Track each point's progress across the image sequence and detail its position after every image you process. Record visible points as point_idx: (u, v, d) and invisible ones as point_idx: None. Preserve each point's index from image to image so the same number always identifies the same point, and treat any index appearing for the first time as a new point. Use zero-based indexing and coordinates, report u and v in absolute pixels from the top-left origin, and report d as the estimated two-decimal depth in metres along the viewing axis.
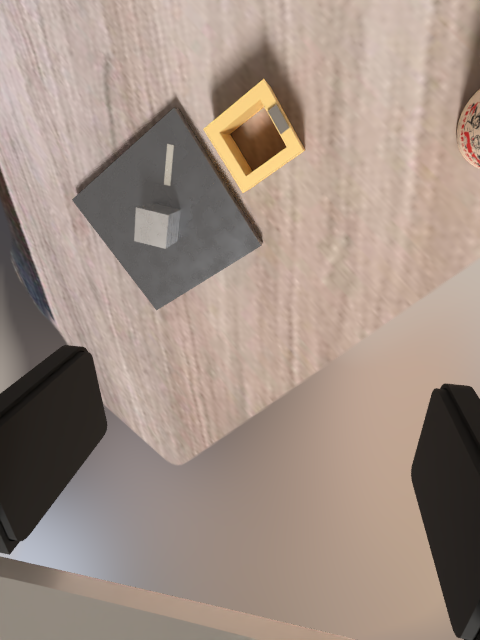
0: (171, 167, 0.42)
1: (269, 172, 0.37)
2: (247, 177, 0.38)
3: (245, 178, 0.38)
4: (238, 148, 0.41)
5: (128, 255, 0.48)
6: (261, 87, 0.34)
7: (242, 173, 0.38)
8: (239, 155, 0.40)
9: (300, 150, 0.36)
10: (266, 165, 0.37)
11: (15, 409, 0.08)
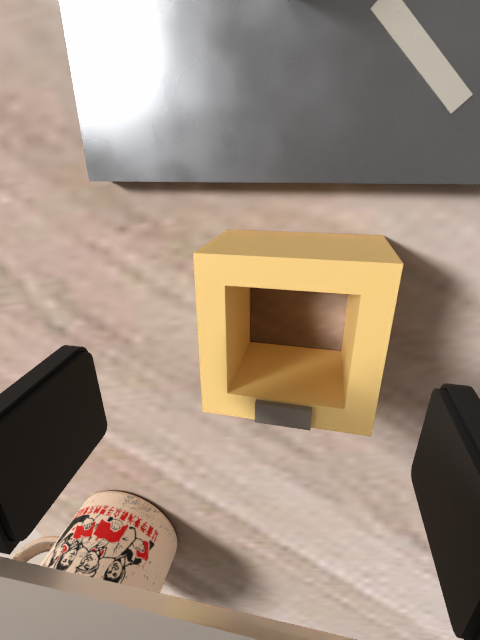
0: (409, 57, 0.12)
1: (201, 336, 0.15)
2: (220, 287, 0.14)
3: (221, 281, 0.14)
4: None
5: None
6: (361, 424, 0.15)
7: (236, 282, 0.14)
8: None
9: (205, 407, 0.16)
10: (219, 340, 0.15)
11: (15, 409, 0.08)
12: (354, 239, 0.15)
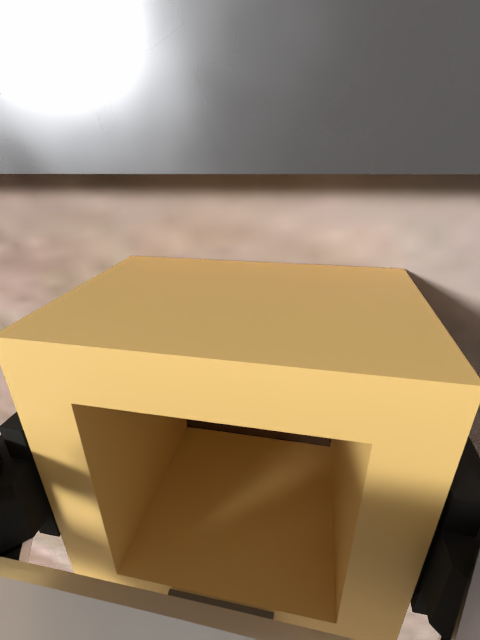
0: None
1: (49, 486, 0.07)
2: (63, 406, 0.06)
3: (61, 396, 0.06)
4: None
5: None
6: None
7: (93, 399, 0.06)
8: None
9: None
10: (83, 494, 0.07)
11: None
12: (352, 282, 0.08)
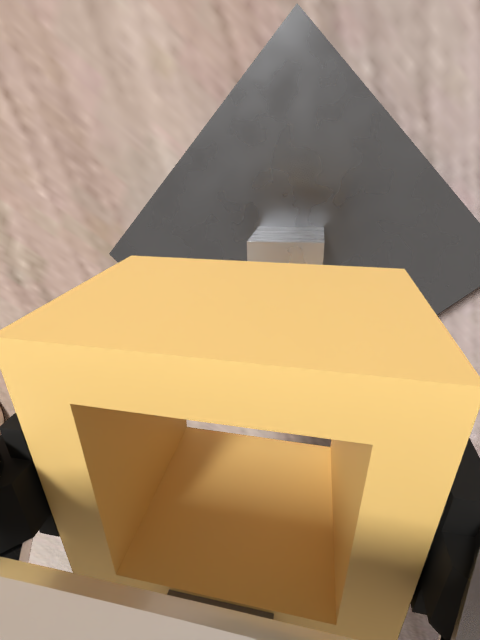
0: None
1: (48, 487, 0.07)
2: (62, 406, 0.06)
3: (60, 396, 0.06)
4: None
5: (377, 160, 0.20)
6: None
7: (92, 399, 0.06)
8: None
9: None
10: (82, 495, 0.07)
11: None
12: (352, 282, 0.08)
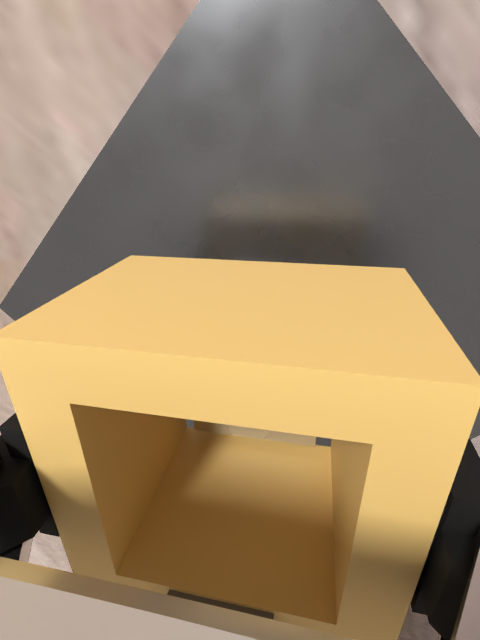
0: None
1: (48, 486, 0.07)
2: (62, 405, 0.06)
3: (60, 396, 0.06)
4: None
5: (421, 180, 0.11)
6: None
7: (92, 399, 0.06)
8: None
9: None
10: (82, 495, 0.07)
11: None
12: (352, 281, 0.08)
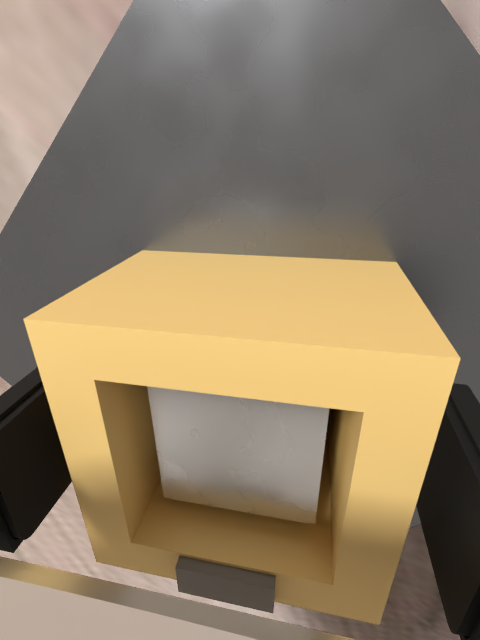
0: None
1: (71, 459, 0.08)
2: (87, 382, 0.07)
3: (86, 373, 0.07)
4: None
5: (452, 184, 0.09)
6: (362, 608, 0.08)
7: (114, 375, 0.07)
8: None
9: (100, 557, 0.10)
10: (102, 466, 0.08)
11: (19, 408, 0.08)
12: (348, 273, 0.09)
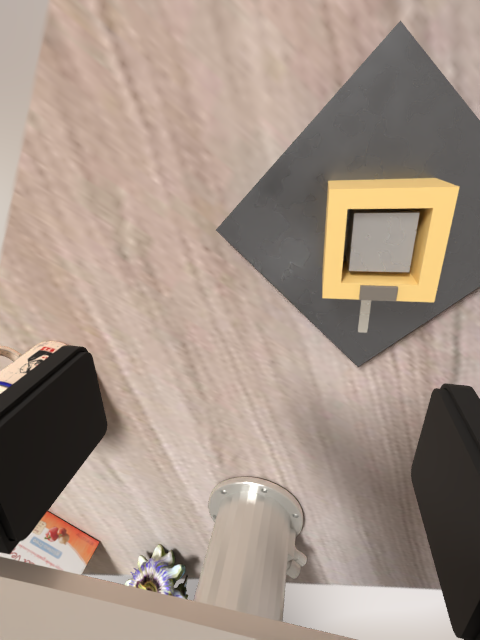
0: (360, 306, 0.31)
1: (328, 244, 0.24)
2: (344, 210, 0.23)
3: (345, 206, 0.23)
4: None
5: (456, 146, 0.24)
6: (428, 294, 0.24)
7: (355, 206, 0.22)
8: None
9: (324, 295, 0.26)
10: (339, 245, 0.24)
11: (15, 409, 0.08)
12: (419, 180, 0.24)
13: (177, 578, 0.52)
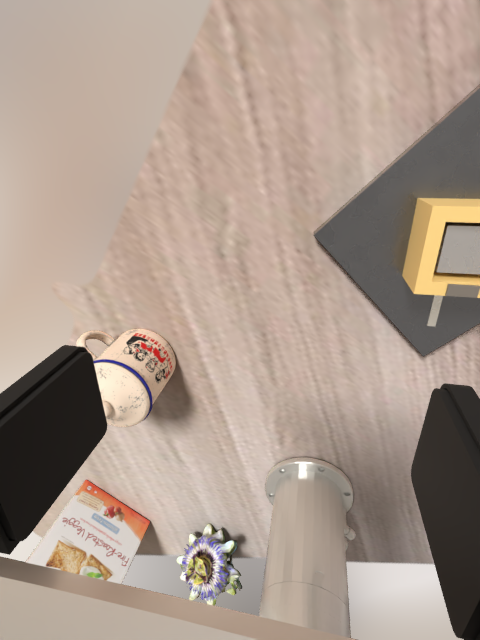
0: (432, 304, 0.36)
1: (425, 250, 0.29)
2: (443, 223, 0.28)
3: (444, 220, 0.28)
4: None
5: None
6: None
7: (452, 220, 0.28)
8: None
9: (416, 291, 0.31)
10: (434, 251, 0.29)
11: (15, 409, 0.08)
12: None
13: (230, 553, 0.56)
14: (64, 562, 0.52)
